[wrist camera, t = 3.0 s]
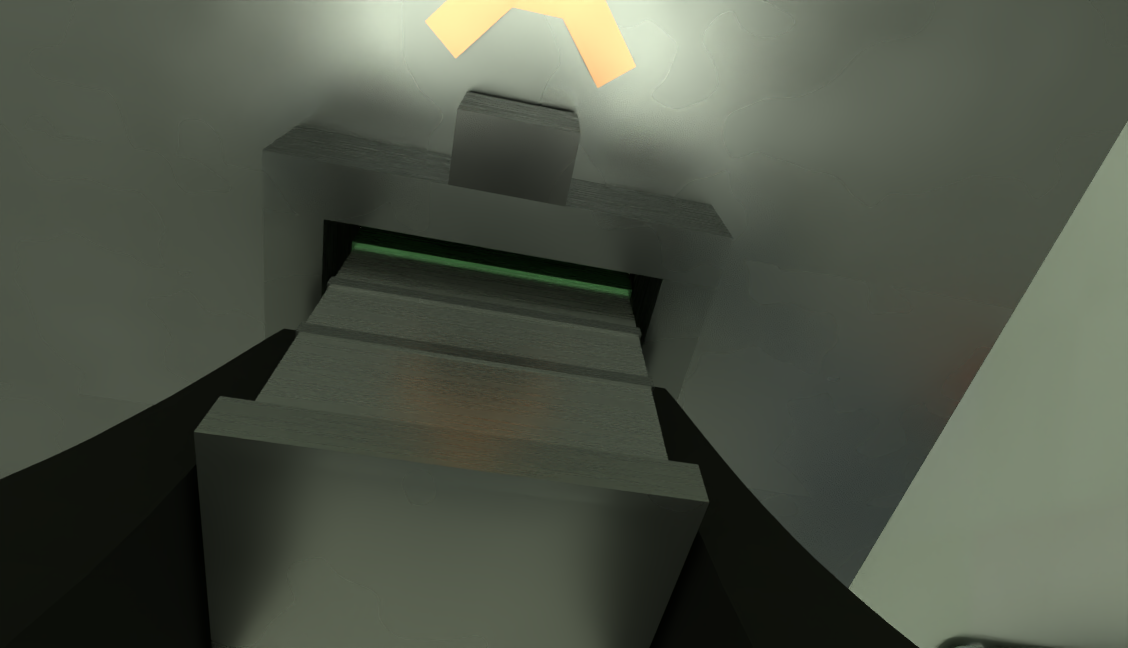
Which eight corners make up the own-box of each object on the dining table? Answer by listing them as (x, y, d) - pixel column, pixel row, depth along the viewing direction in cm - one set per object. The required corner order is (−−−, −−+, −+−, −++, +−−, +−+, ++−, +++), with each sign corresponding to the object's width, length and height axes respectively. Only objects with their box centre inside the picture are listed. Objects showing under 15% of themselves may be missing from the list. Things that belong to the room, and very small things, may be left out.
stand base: (1228, -135, 9) (1406, -156, 7) (774, 667, 18) (801, 754, 16) (-234, -544, 7) (-523, -729, 5) (49, 589, 16) (-20, 677, 14)
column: (629, 233, 12) (708, 502, 6) (577, 431, 14) (598, 769, 8) (373, 186, 11) (193, 432, 5) (359, 398, 13) (218, 736, 8)
